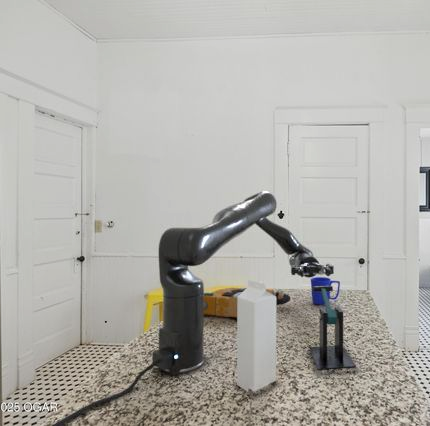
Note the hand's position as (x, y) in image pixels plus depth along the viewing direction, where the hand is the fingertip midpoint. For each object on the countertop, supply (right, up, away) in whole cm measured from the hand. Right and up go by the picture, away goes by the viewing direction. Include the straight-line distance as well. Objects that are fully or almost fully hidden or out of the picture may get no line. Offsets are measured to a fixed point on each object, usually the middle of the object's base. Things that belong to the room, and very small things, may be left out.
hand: (315, 273), depth 98 cm
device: (-26, -18, +19) cm, 37 cm away
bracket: (+3, -18, -21) cm, 28 cm away
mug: (+5, -18, +30) cm, 35 cm away
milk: (-14, -18, -32) cm, 39 cm away
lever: (+2, -6, -16) cm, 17 cm away
